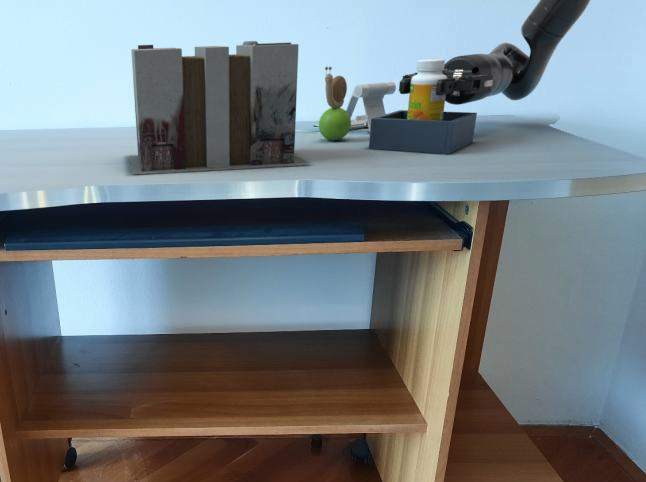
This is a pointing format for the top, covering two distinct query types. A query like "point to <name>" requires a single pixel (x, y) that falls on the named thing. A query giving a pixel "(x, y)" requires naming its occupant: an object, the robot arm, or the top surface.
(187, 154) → the building model
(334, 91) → the snail figurine
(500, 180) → the top surface
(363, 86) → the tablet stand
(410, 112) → the supplement bottle
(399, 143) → the bin
